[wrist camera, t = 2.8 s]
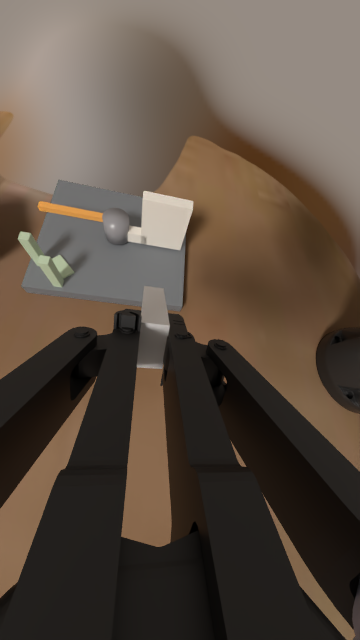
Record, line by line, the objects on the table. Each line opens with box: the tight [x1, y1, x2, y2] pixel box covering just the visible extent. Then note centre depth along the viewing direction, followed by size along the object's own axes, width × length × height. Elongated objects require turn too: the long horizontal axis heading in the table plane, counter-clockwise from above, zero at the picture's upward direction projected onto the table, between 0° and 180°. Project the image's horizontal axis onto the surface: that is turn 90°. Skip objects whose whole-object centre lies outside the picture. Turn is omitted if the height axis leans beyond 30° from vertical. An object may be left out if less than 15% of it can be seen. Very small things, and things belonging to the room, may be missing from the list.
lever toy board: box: [18, 180, 186, 311], centre depth 35 cm, size 24×22×8 cm
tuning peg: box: [38, 191, 193, 250], centre depth 33 cm, size 22×4×9 cm, turn 87°
